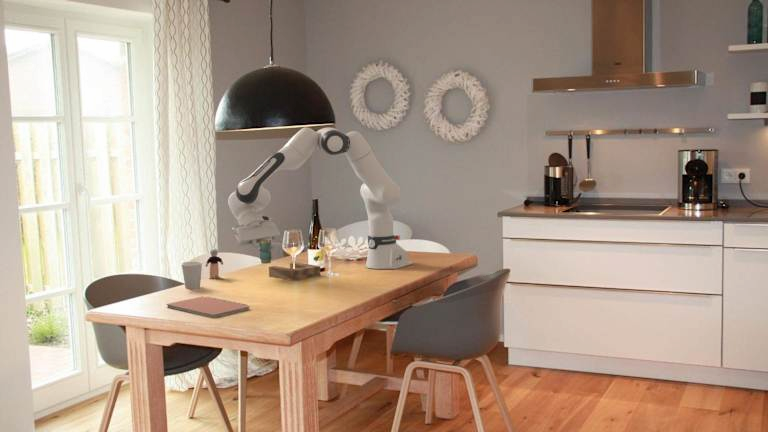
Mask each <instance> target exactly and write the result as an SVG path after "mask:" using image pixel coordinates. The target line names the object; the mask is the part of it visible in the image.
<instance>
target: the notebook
mask: <svg viewBox="0 0 768 432" xmlns="http://www.w3.org/2000/svg"><path fill="white" fill-rule="evenodd" d="M165 305H166V306H167V308H168V309H169V308H170V309H172V310H173V309H174V310H178V311H183V312H188V313H191V314H196V315H200V316H204V317H209V318H219V317H223V316H227V315H231V314H235V313H239V312H244V311H249V310H250V307H251V306H250V305H247V303H246V304H245V303H242V302H241V303H240V302H235V301H230V300H227V299H226V300H225V299H221V298H215V297H210V296H198V297H193V298H190V299H184V300H180V301H175V302H174V301H173V302H170V303H166V304H165Z"/></svg>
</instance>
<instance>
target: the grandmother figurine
mask: <svg viewBox="0 0 768 432" xmlns="http://www.w3.org/2000/svg"><path fill="white" fill-rule="evenodd" d="M209 252H210V253H209V254H210V255H211V256H210V257H209V258H208V259H207V260H206V263H205V265H204V266H205V267H209V278H208V279H209V280H212V279H214V278H215V279H220V276H219V268H220V267H219V263H220V264H221V265H224V262H223V259H222V257H220V256H218V253H219V250H218V249H217V248H214V247H213V248H210V251H209Z"/></svg>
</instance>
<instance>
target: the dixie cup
mask: <svg viewBox="0 0 768 432" xmlns="http://www.w3.org/2000/svg"><path fill="white" fill-rule="evenodd" d="M180 265H181V269H182V275H183V282H184V287H185V289H186V290H196V289H200V288H201V280H202V270H203V269H202V267H203V262H202V261H199V260H198V261H197V260H196V261H195V260H192V261H183V262H182V263H181V264H180Z"/></svg>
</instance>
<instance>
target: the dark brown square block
mask: <svg viewBox="0 0 768 432" xmlns="http://www.w3.org/2000/svg"><path fill="white" fill-rule="evenodd" d="M293 263H295V269H293ZM320 276H321V266H320V265H314V264H308V263H303V262H296V261H295V262H289V267H285V266H278V265H273V266H268V277H272V278H276V279H277V278H278V279H282V280H287V281H292V282H294V281H295V282H296V281H298V280H299V281H300V280H304V279H310V278H313V277H314V278H315V277H320Z"/></svg>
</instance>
